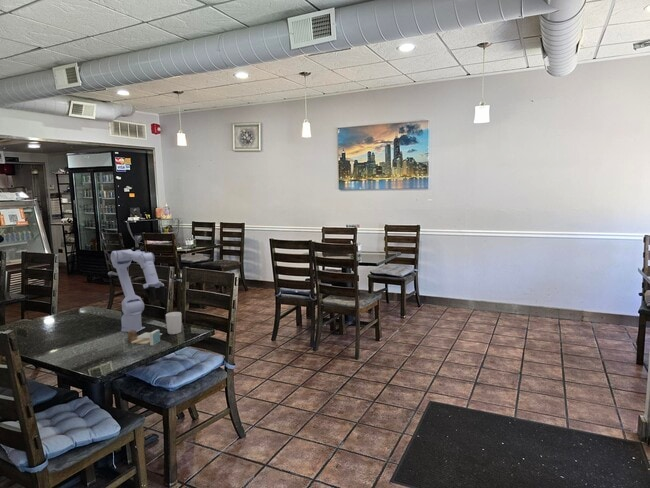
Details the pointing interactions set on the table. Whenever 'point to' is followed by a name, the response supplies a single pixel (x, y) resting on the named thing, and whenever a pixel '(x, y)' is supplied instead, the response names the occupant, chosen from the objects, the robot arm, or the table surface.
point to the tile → (154, 337)
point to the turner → (133, 338)
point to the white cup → (174, 322)
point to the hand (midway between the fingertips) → (158, 301)
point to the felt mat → (145, 335)
